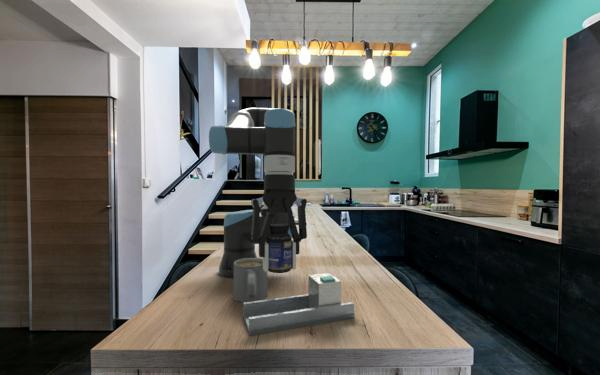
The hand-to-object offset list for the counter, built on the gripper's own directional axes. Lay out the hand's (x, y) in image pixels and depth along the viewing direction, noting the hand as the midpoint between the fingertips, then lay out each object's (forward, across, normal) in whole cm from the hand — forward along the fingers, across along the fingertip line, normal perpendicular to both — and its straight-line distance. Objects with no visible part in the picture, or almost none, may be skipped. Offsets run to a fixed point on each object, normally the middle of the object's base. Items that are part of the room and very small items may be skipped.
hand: (279, 268), depth 69 cm
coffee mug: (+13, -4, +17) cm, 21 cm away
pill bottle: (+1, 0, 0) cm, 1 cm away
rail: (+13, +5, 0) cm, 13 cm away
